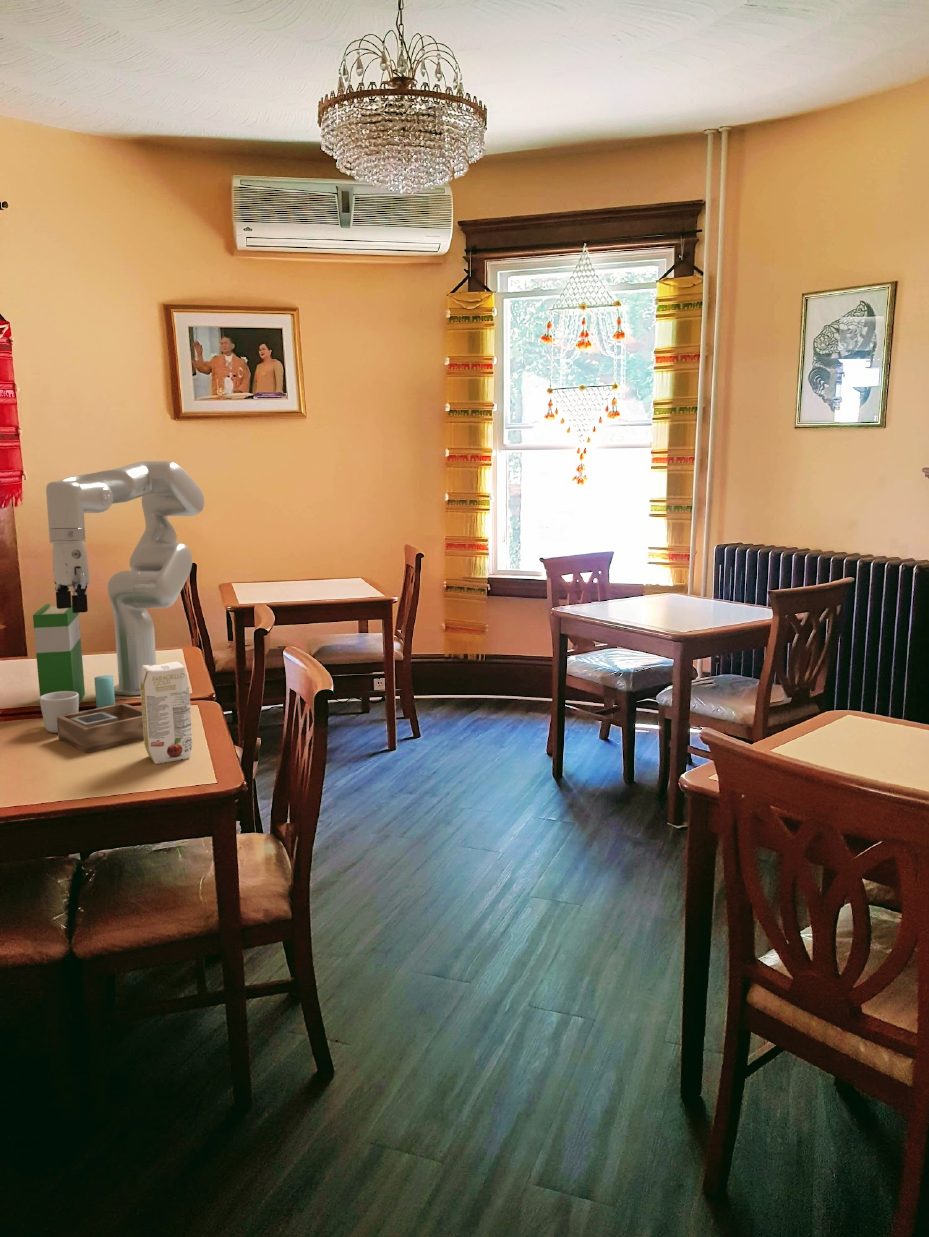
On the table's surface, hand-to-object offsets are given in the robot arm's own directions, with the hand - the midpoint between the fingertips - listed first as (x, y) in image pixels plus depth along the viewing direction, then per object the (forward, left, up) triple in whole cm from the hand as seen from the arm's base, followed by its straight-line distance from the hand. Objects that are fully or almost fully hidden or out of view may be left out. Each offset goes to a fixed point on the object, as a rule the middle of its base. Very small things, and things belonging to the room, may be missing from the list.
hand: (72, 610), depth 201 cm
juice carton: (+1, +43, -26) cm, 50 cm away
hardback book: (-2, -14, -26) cm, 29 cm away
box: (+4, +21, -25) cm, 33 cm away
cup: (+8, +7, -26) cm, 28 cm away
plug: (-3, +7, -25) cm, 27 cm away
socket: (+6, +21, -25) cm, 34 cm away
